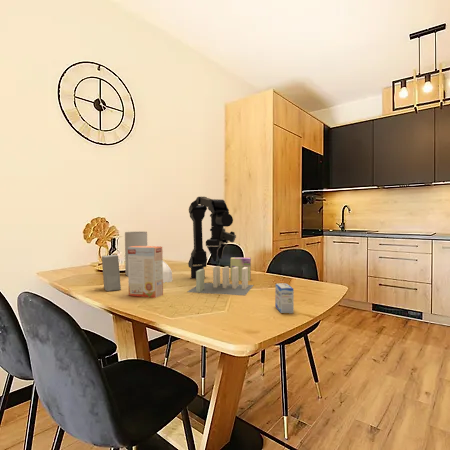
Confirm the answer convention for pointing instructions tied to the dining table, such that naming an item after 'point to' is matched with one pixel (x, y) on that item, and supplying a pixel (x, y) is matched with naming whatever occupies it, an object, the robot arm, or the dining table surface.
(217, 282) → the domino
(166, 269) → the teardrop
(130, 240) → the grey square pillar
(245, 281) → the domino
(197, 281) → the domino
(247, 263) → the box
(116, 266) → the skincare box
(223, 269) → the domino
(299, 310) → the dining table surface
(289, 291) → the medicine box
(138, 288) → the cracker box
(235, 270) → the domino
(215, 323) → the dining table surface
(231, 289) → the mat
